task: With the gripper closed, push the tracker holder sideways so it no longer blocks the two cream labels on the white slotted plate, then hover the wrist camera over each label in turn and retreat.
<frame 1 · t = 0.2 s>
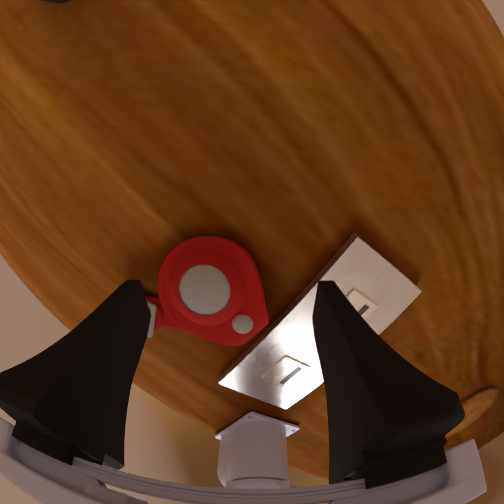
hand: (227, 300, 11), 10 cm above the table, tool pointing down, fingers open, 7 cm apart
white slotted plate: (314, 338, 26), on the table
tracker holder: (194, 283, 24), on the table
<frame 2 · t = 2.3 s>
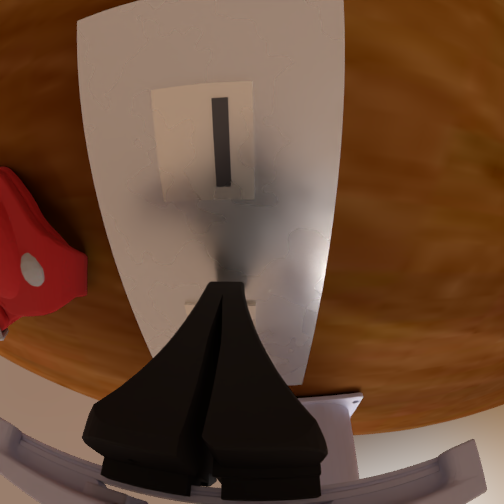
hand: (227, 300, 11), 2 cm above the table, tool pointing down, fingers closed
white slotted plate: (217, 243, 12), on the table
tracker holder: (20, 248, 13), on the table
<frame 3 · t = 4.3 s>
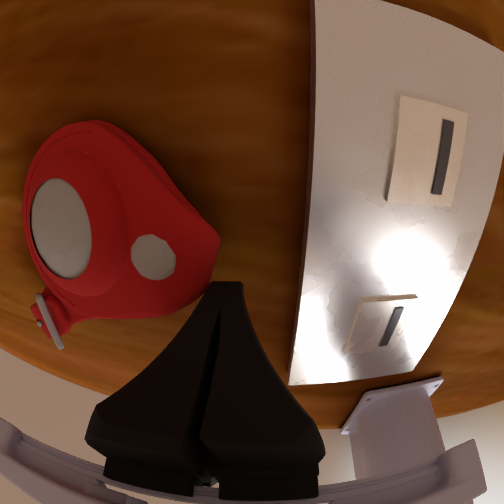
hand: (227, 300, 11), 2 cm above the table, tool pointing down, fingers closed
white slotted plate: (396, 242, 12), on the table
tracker holder: (93, 231, 12), on the table, touching gripper
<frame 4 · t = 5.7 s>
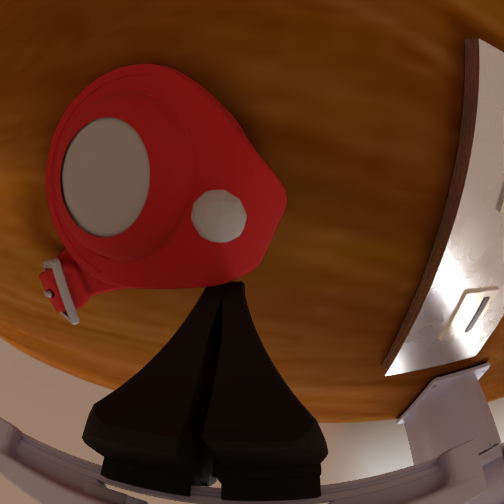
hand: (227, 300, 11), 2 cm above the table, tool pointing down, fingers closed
white slotted plate: (489, 243, 12), on the table
tracker holder: (126, 193, 11), on the table
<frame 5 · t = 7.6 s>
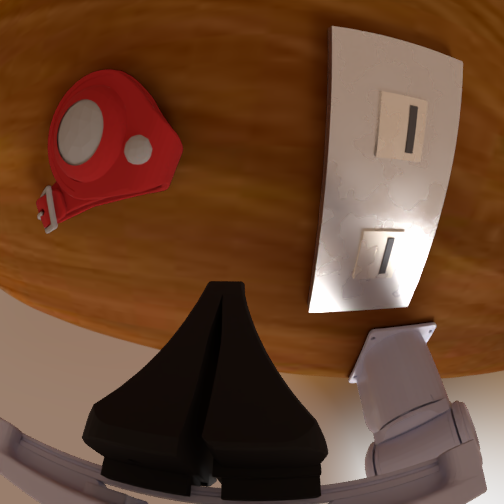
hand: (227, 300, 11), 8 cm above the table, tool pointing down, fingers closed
white slotted plate: (385, 189, 17), on the table
tracker holder: (97, 149, 16), on the table
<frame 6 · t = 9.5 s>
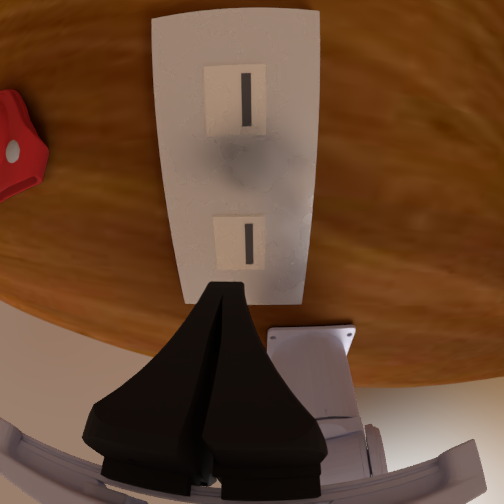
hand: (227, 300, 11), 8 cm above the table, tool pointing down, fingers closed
white slotted plate: (238, 171, 17), on the table
tracker holder: (7, 151, 16), on the table
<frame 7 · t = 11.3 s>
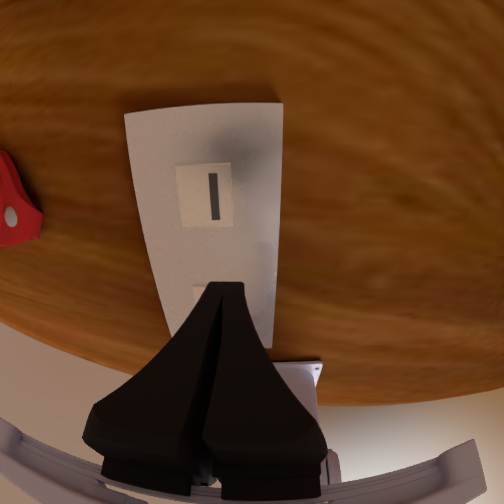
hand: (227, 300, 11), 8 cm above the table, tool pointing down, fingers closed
white slotted plate: (212, 249, 20), on the table
tracker holder: (4, 203, 18), on the table
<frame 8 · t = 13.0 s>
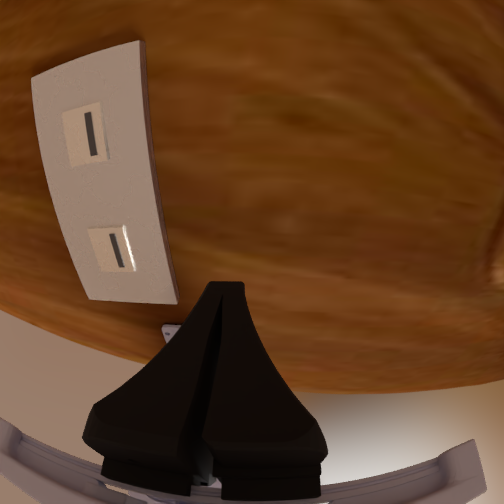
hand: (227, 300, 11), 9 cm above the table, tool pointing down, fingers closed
white slotted plate: (103, 190, 19), on the table
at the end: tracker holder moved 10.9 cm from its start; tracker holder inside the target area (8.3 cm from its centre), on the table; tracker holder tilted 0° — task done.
